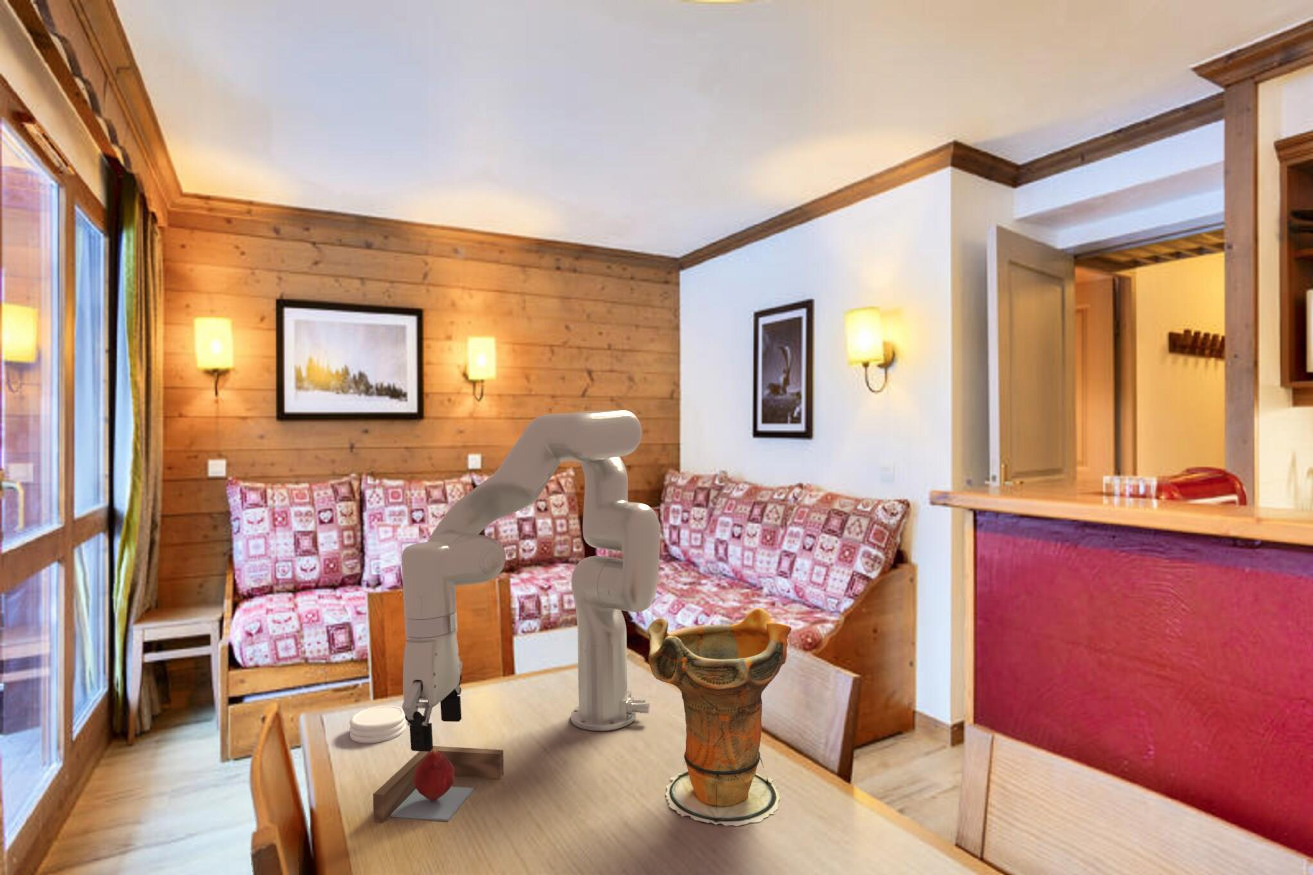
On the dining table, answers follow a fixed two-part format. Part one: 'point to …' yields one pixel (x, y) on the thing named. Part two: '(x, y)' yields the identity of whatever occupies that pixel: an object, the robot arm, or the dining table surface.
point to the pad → (433, 805)
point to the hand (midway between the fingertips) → (437, 734)
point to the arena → (464, 764)
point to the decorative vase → (721, 713)
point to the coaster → (377, 724)
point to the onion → (434, 775)
